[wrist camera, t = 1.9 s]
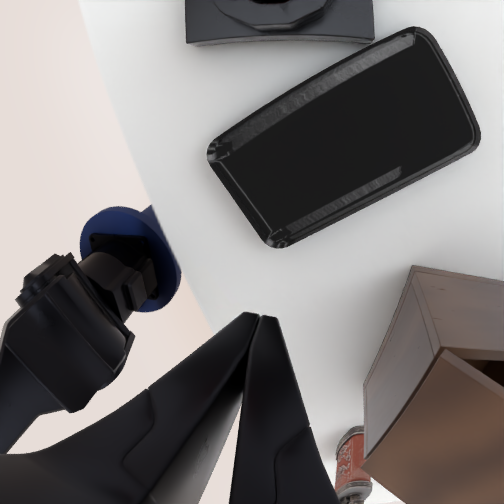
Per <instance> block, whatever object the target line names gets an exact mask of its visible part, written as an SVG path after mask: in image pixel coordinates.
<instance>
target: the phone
mask: <svg viewBox="0 0 504 504" xmlns="http://www.w3.org/2000/svg"><path fill="white" fill-rule="evenodd" d="M480 140H481V132H480V128H479V125H478V122H477V120H476V118H475V115H474V113H473V111H472V108H471V106H470V104H469V102H468V100H467V97H466V95H465V93H464V91H463V89H462V87H461V85H460V83H459V81H458V79H457V77H456V75H455V73H454V71H453V69H452V67H451V66H450V64H449V62H448V60H447V58H446V56H445V55H444V53H443V51H442V49H441V48H440V46H439V44H438V43H437V41H436V39H435V38H434V37H433V35H432V34H431V33H430V32H428V31H427V30H426V29H423V28H421V27H414V26H413V27H408V28H406V29H403V30H401V31H399V32H397V33H395V34H393V35H390V36H388V37H386V38H384V39H382V40H380V41H378V42H376V43H374V44H372V45H370V46H368V47H366V48H364V49H362V50H360V51H358V52H356V53H354V54H352V55H350V56H348V57H346V58H345V59H343V60H341V61H339V62H337V63H335V64H333V65H332V66H330V67H328V68H326V69H324V70H323V71H321V72H319V73H317V74H316V75H314V76H312V77H310V78H309V79H307V80H305V81H304V82H302V83H300V84H298V85H297V86H295V87H293V88H292V89H290V90H288V91H287V92H285V93H284V94H282V95H280V96H279V97H277V98H275V99H274V100H272V101H271V102H269V103H268V104H266V105H264V106H263V107H261V108H260V109H258V110H257V111H255V112H254V113H252V114H251V115H249V116H248V117H246V118H245V119H243V120H242V121H240V122H239V123H237V124H236V125H234V126H233V127H231V128H230V129H228V130H227V131H225V132H224V133H223V134H221V135H220V136H218V137H217V138H215V139H214V140H213V141H212V142H211V143H210V145H209V147H208V149H207V160H208V162H209V164H210V166H211V168H212V169H213V171H214V172H215V173H216V175H217V176H218V178H219V179H220V181H221V182H222V183H223V185H224V186H225V188H226V189H227V190H228V192H229V193H230V195H231V196H232V198H233V199H234V200H235V202H236V203H237V205H238V206H239V208H240V209H241V210H242V212H243V213H244V215H245V216H246V218H247V219H248V221H249V222H250V223H251V225H252V226H253V228H254V229H255V231H256V232H257V233H258V235H259V236H260V238H261V239H262V240H263V241H264V243H265V244H267V245H268V246H270V247H273V248H285V247H288V246H290V245H292V244H294V243H296V242H298V241H300V240H302V239H304V238H306V237H308V236H310V235H312V234H314V233H316V232H318V231H320V230H322V229H324V228H326V227H328V226H330V225H332V224H334V223H336V222H338V221H340V220H342V219H344V218H346V217H348V216H350V215H352V214H354V213H356V212H357V211H359V210H361V209H363V208H365V207H367V206H369V205H371V204H373V203H375V202H377V201H379V200H381V199H383V198H385V197H387V196H389V195H391V194H393V193H395V192H397V191H399V190H401V189H403V188H404V187H406V186H408V185H410V184H412V183H414V182H416V181H418V180H420V179H422V178H424V177H426V176H428V175H430V174H432V173H434V172H435V171H437V170H439V169H441V168H443V167H445V166H447V165H449V164H451V163H453V162H455V161H457V160H459V159H460V158H462V157H464V156H466V155H468V154H470V153H472V152H473V151H474V150H476V148H477V147H478V145H479V143H480Z"/></svg>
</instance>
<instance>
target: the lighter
mask: <svg viewBox="0 0 504 504" xmlns="http://www.w3.org/2000/svg"><path fill="white" fill-rule="evenodd" d="M336 460H337V470H336V481H335V492H336V494H337V496H338V498H339V500H340V502H341V504H364V500H365V499H366V498H367V497H368V496H369V495H370V493H371V491H372V483H371V482H370V477H371V476H369V475H368V474H367V473H366V472H365V471H363V470H362V469H361V468H360V467H361V466H362V465H363V464H364V463H365V461H366V460H365V459H364V426H358V427H354V428H352V429H350V430H349V431H348V432H347V433H346V434H345V435H344V436H343V438H342V439H341V441H340V442H339V444H338V447H337V452H336Z"/></svg>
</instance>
